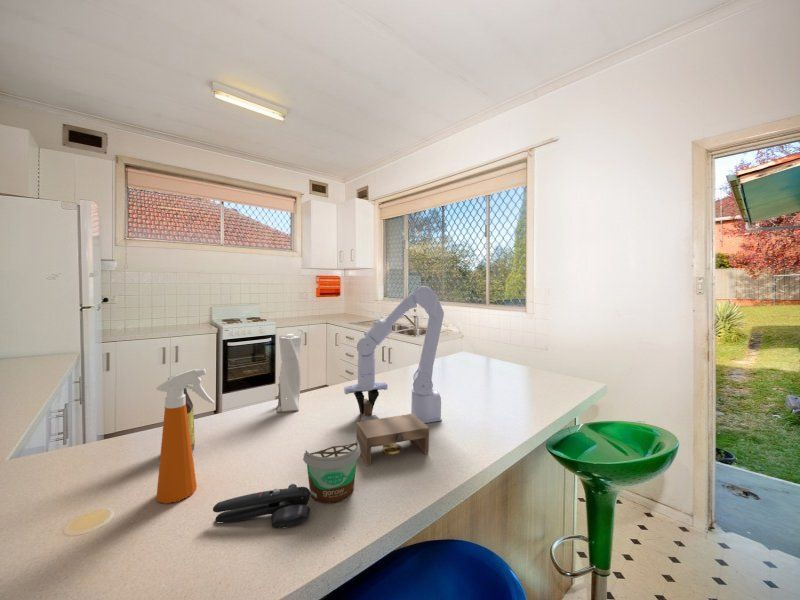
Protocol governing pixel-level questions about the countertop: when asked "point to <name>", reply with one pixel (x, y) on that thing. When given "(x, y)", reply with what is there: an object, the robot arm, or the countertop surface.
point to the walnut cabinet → (391, 433)
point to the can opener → (268, 506)
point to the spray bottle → (178, 438)
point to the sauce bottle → (189, 416)
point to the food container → (332, 472)
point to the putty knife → (367, 411)
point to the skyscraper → (289, 373)
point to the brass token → (392, 449)
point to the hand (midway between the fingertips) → (365, 412)
